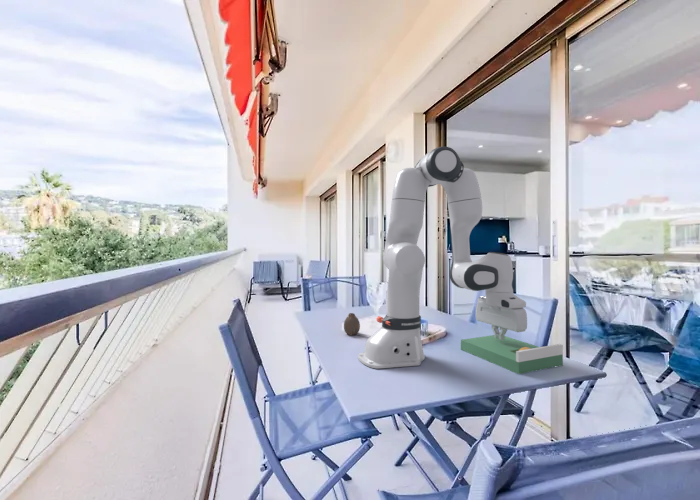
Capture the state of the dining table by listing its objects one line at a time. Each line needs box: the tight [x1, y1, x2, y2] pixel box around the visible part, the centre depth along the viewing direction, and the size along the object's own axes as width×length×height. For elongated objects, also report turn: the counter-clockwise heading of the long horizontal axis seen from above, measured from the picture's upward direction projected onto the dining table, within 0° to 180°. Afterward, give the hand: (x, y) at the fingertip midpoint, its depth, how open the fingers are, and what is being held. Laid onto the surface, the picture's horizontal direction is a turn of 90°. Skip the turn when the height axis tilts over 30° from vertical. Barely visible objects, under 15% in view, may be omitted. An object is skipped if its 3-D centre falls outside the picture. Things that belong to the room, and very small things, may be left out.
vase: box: [343, 312, 361, 336], centre depth 152 cm, size 7×7×9 cm
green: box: [460, 334, 564, 375], centre depth 120 cm, size 18×26×6 cm
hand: (499, 339), depth 123 cm, fingers closed
